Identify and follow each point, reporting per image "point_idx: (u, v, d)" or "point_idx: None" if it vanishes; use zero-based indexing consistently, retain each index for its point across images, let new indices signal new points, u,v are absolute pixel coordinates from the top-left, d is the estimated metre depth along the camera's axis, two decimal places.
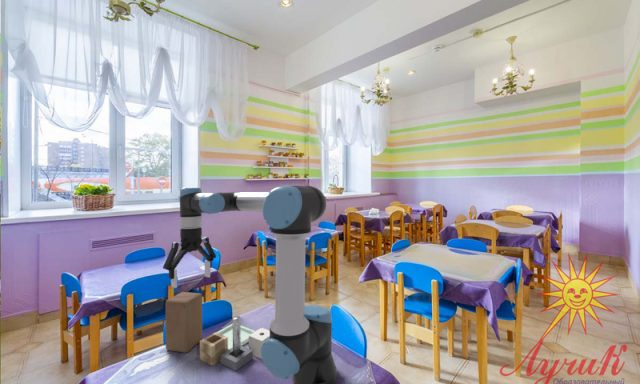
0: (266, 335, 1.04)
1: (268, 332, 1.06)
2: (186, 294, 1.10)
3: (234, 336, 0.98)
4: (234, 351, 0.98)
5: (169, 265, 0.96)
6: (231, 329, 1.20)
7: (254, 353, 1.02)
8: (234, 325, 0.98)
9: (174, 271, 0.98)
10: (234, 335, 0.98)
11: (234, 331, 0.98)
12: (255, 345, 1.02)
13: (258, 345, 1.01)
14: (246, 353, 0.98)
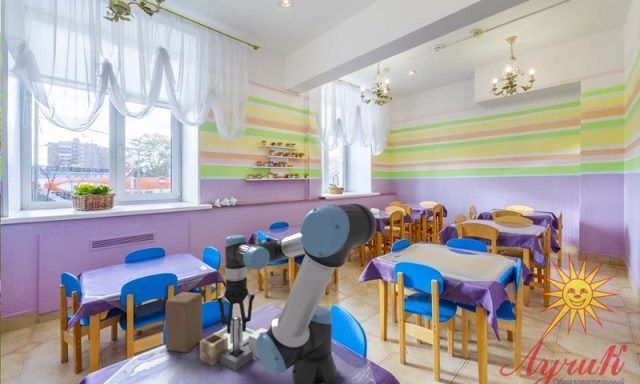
0: None
1: None
2: (186, 294, 1.10)
3: (234, 336, 0.98)
4: (234, 351, 0.98)
5: (223, 320, 0.97)
6: None
7: (254, 353, 1.02)
8: (234, 325, 0.98)
9: (230, 326, 0.97)
10: (234, 335, 0.98)
11: (234, 331, 0.98)
12: (255, 345, 1.02)
13: None
14: (246, 353, 0.98)
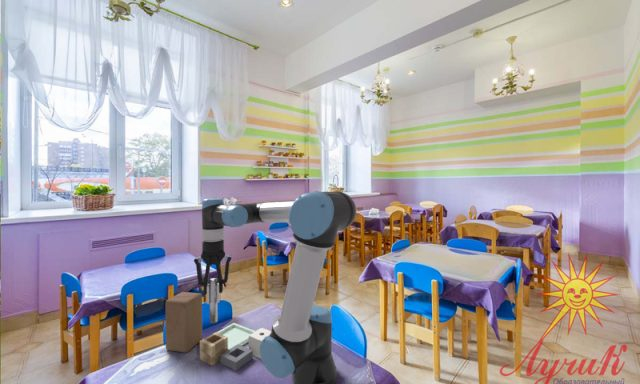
0: (266, 335, 1.04)
1: (268, 332, 1.06)
2: (186, 294, 1.10)
3: (210, 296, 1.00)
4: (211, 311, 1.00)
5: (199, 280, 0.98)
6: (231, 329, 1.20)
7: (254, 353, 1.02)
8: (211, 286, 0.99)
9: (206, 287, 0.99)
10: (211, 295, 1.00)
11: (211, 292, 0.99)
12: (255, 345, 1.02)
13: (258, 345, 1.01)
14: (246, 353, 0.98)
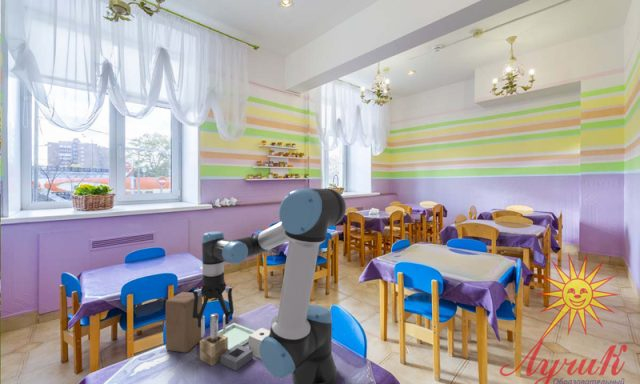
0: (266, 335, 1.04)
1: (268, 332, 1.06)
2: (186, 294, 1.10)
3: (211, 333, 1.00)
4: None
5: (194, 313, 0.98)
6: (231, 329, 1.20)
7: (254, 353, 1.02)
8: (211, 322, 1.00)
9: (201, 320, 0.99)
10: (211, 332, 1.00)
11: (211, 328, 1.00)
12: (255, 345, 1.02)
13: (258, 345, 1.01)
14: (246, 353, 0.98)
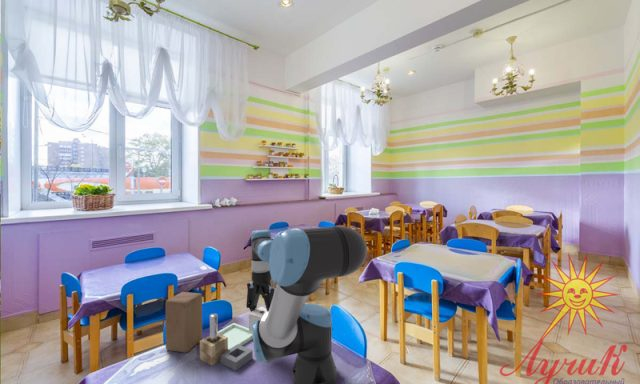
0: None
1: None
2: (186, 294, 1.10)
3: (210, 333, 1.00)
4: None
5: (247, 304, 1.06)
6: (231, 329, 1.20)
7: None
8: (211, 322, 1.00)
9: None
10: (211, 332, 1.00)
11: (211, 328, 1.00)
12: None
13: None
14: (246, 353, 0.98)
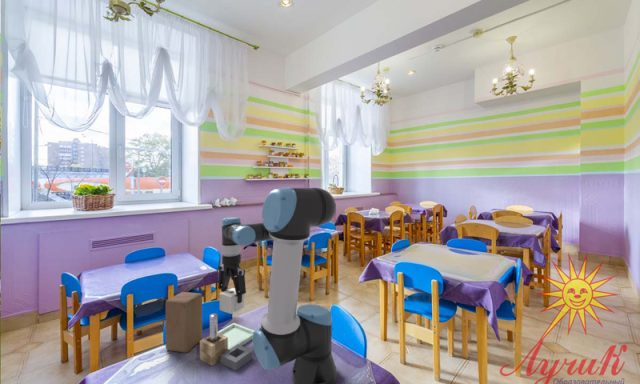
0: None
1: None
2: (186, 294, 1.10)
3: (210, 333, 1.00)
4: None
5: (219, 285, 1.15)
6: (231, 329, 1.20)
7: (224, 309, 1.11)
8: (211, 322, 1.00)
9: None
10: (211, 332, 1.00)
11: (211, 328, 1.00)
12: (225, 301, 1.10)
13: (227, 301, 1.09)
14: (246, 353, 0.98)
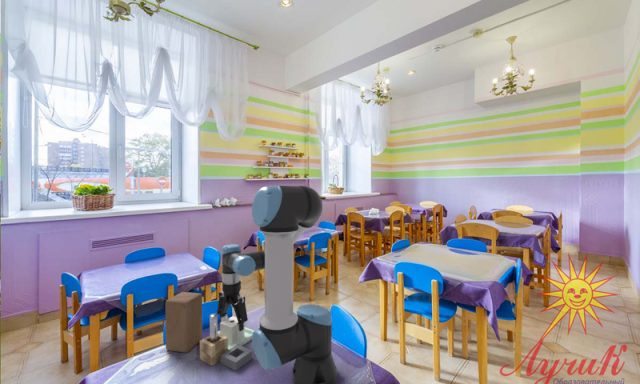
0: (236, 322, 1.13)
1: None
2: (186, 294, 1.10)
3: (210, 333, 1.00)
4: None
5: (218, 310, 1.16)
6: None
7: None
8: (211, 322, 1.00)
9: None
10: (211, 332, 1.00)
11: (211, 328, 1.00)
12: (226, 331, 1.10)
13: (228, 331, 1.10)
14: (246, 353, 0.98)
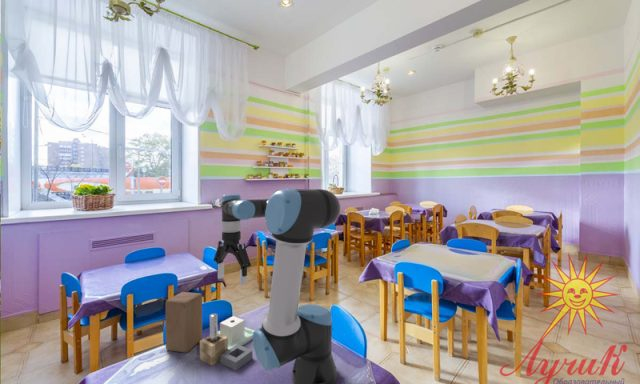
0: (236, 322, 1.13)
1: (238, 320, 1.15)
2: (186, 294, 1.10)
3: (210, 333, 1.00)
4: None
5: (215, 258, 1.17)
6: None
7: None
8: (211, 322, 1.00)
9: None
10: (211, 332, 1.00)
11: (211, 328, 1.00)
12: (226, 331, 1.10)
13: (228, 331, 1.10)
14: (246, 353, 0.98)
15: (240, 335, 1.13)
